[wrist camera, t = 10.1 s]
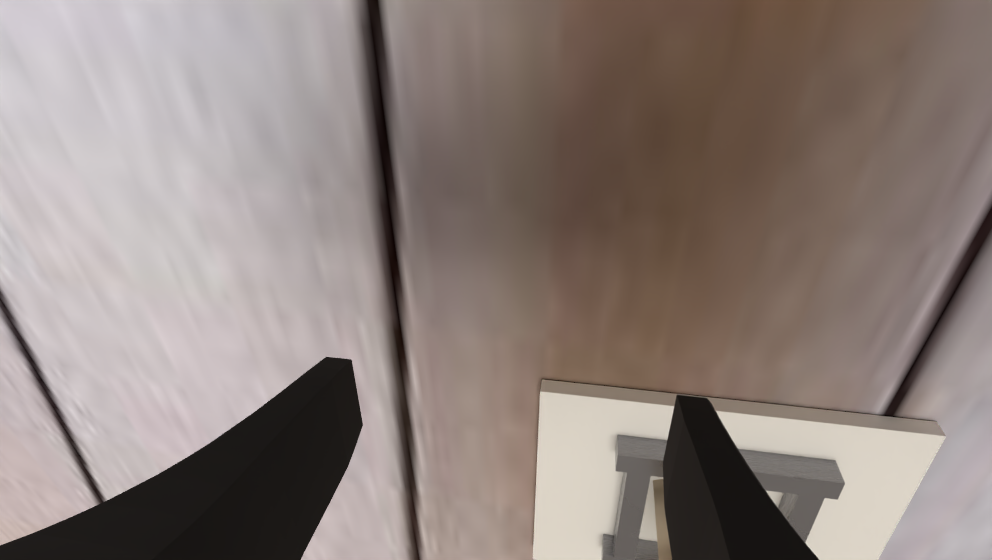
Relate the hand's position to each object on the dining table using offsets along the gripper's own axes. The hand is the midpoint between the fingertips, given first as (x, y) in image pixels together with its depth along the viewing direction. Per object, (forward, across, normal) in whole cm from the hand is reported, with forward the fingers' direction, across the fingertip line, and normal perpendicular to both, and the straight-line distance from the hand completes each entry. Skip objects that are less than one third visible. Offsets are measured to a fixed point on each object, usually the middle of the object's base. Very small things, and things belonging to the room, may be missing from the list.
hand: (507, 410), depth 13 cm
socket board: (+10, -8, +14) cm, 19 cm away
